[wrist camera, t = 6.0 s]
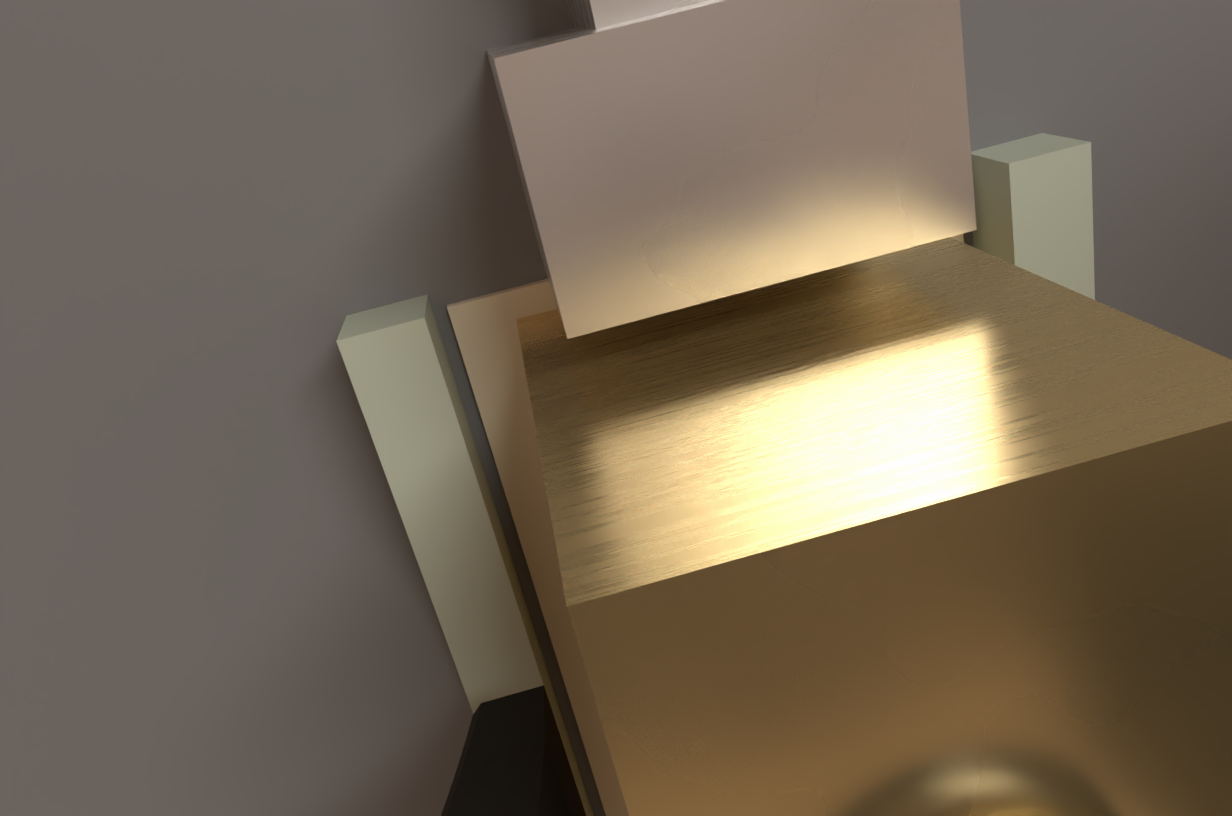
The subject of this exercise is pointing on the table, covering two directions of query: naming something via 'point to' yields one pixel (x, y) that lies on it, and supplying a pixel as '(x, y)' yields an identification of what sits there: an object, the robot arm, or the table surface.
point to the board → (399, 370)
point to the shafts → (733, 144)
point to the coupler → (897, 546)
